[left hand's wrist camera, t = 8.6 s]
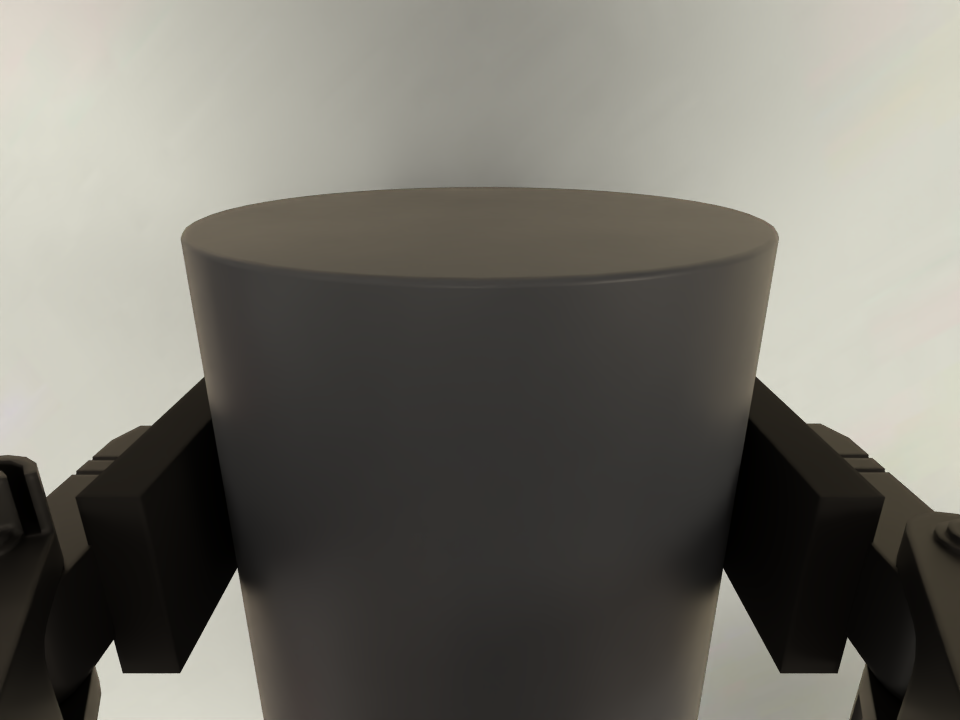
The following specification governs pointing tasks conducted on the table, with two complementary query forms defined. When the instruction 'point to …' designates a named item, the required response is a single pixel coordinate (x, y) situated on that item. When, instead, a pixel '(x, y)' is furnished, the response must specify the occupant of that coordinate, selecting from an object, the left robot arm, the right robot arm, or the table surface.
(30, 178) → the table surface
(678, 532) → the rod
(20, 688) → the left robot arm
